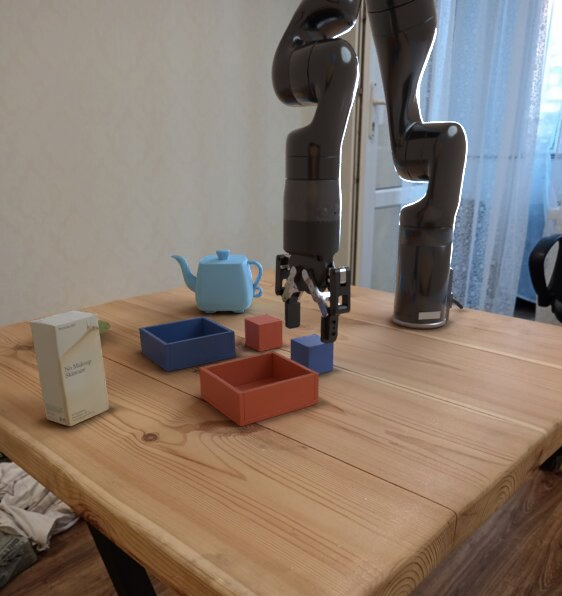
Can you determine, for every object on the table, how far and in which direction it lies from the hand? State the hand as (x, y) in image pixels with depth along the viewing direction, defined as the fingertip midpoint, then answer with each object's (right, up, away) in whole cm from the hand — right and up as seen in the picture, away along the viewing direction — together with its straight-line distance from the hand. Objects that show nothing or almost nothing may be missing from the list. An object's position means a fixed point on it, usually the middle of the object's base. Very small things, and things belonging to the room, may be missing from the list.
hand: (309, 334), depth 81 cm
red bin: (-7, -9, -8) cm, 14 cm away
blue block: (0, -5, +2) cm, 5 cm away
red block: (-7, -1, +12) cm, 14 cm away
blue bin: (-18, -3, +8) cm, 20 cm away
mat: (-38, 0, +16) cm, 42 cm away
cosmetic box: (-28, -11, -11) cm, 32 cm away
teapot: (-16, +8, +34) cm, 39 cm away
